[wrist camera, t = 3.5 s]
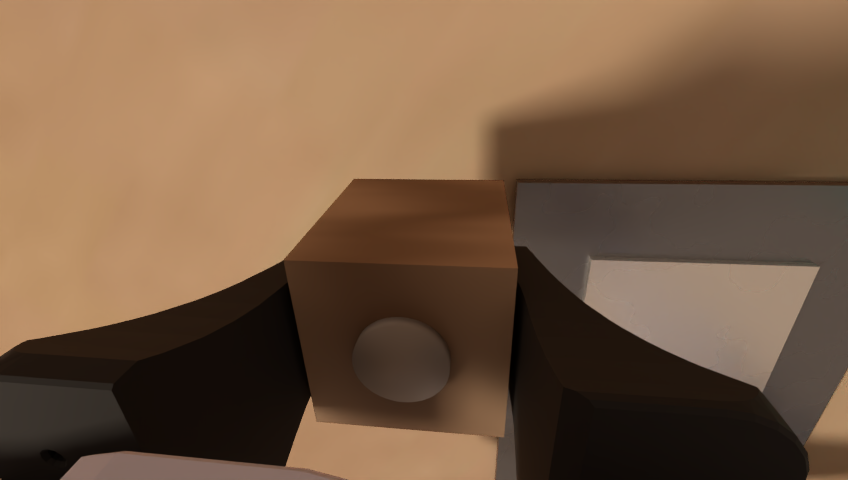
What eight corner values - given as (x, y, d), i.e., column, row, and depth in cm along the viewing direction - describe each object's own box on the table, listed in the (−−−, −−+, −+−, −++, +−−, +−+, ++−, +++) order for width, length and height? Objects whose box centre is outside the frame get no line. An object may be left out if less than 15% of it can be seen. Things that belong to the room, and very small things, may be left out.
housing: (503, 180, 12) (519, 277, 7) (496, 307, 14) (504, 449, 9) (354, 179, 12) (276, 268, 8) (367, 301, 14) (311, 432, 10)
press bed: (938, 182, 14) (1037, 215, 11) (760, 505, 22) (796, 565, 20) (516, 179, 16) (523, 207, 13) (494, 480, 24) (496, 533, 21)
